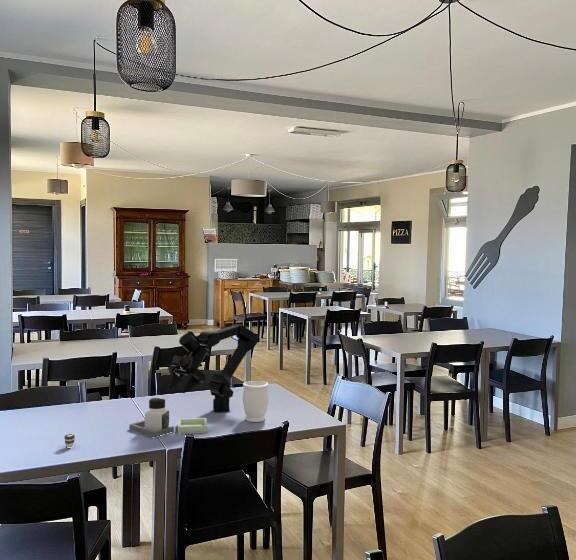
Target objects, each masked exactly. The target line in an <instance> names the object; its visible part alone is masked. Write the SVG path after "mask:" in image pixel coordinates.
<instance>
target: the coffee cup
mask: <svg viewBox="0 0 576 560" xmlns="http://www.w3.org/2000/svg"><path fill="white" fill-rule="evenodd" d="M75 437H76V436H75V434H74V433H68V434H65V435H64V445H65V448H66V447H72V446H73V447H74V446H75V445H74V444H75V439H76V438H75Z"/></svg>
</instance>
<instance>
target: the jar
mask: <svg viewBox="0 0 576 560" xmlns="http://www.w3.org/2000/svg"><path fill="white" fill-rule="evenodd" d="M242 387H243V393H242V402H243V410H244V413H245V415H246V416H245V418H244V420H245V421H247V422H250V423H259V422H263V421H266V418H267V417H266V416H265V415H266V414H267V411H268V404H269V390H268V387H269V382H266V381H262V380H248V381H245V382H243V383H242Z"/></svg>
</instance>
